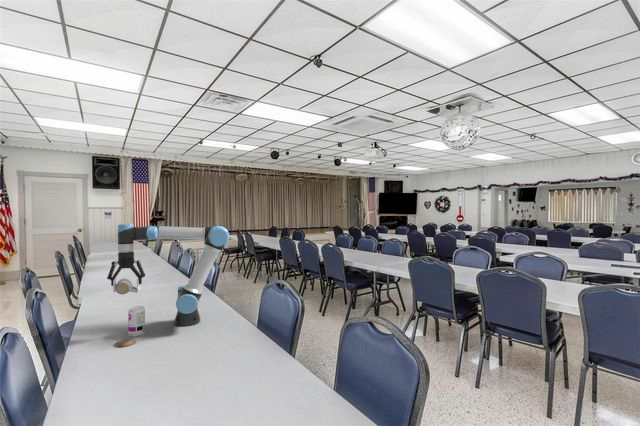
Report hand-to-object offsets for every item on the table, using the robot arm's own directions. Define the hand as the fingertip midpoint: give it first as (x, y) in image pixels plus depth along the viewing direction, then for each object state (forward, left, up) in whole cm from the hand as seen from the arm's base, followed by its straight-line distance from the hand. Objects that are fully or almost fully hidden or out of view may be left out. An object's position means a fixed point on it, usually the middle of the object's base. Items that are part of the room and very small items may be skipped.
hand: (126, 290), depth 175 cm
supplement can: (-4, -2, -25) cm, 26 cm away
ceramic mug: (0, 0, -1) cm, 1 cm away
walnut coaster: (-3, +11, -25) cm, 28 cm away
